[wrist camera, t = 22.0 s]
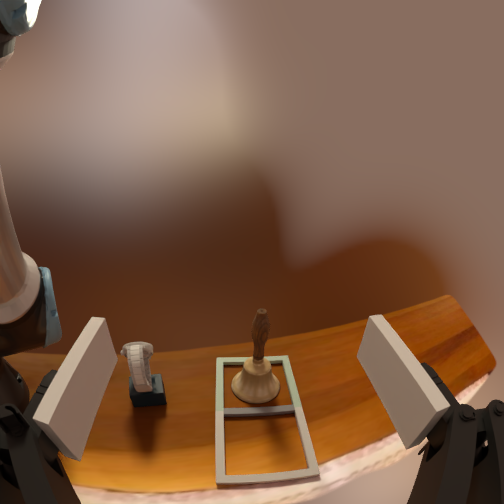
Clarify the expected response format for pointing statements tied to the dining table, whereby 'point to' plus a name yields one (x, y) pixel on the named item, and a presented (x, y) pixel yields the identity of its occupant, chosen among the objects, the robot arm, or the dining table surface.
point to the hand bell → (257, 367)
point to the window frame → (261, 411)
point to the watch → (143, 376)
